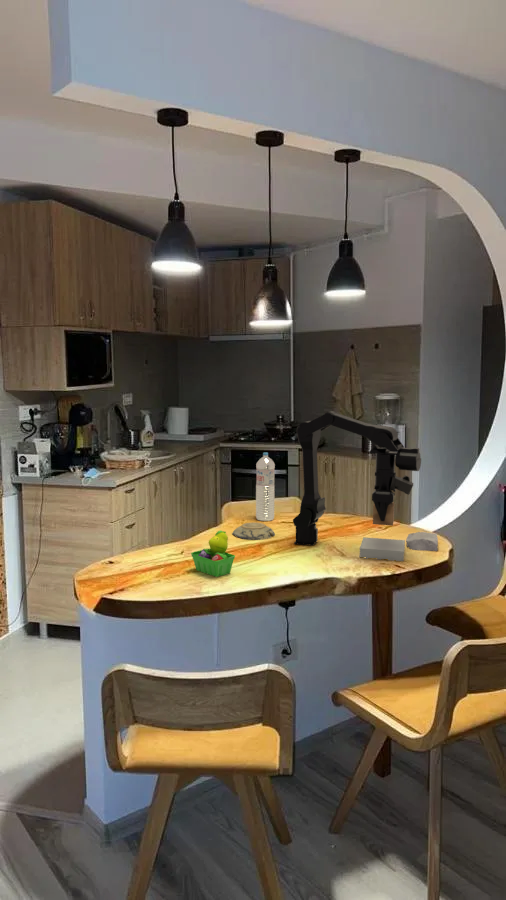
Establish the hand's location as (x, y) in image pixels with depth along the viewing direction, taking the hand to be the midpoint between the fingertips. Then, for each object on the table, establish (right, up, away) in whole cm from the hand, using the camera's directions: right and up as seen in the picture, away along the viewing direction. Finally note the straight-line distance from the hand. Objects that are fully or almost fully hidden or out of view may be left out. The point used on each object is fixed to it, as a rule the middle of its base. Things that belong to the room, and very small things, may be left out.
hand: (383, 518), depth 211 cm
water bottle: (-35, -5, +45) cm, 57 cm away
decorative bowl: (-40, -8, +24) cm, 47 cm away
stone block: (+14, -10, +11) cm, 21 cm away
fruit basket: (-51, -13, -17) cm, 55 cm away
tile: (0, -11, +2) cm, 11 cm away
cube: (0, -1, 0) cm, 1 cm away
